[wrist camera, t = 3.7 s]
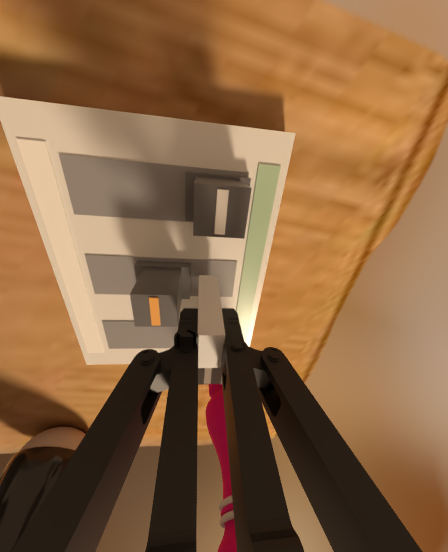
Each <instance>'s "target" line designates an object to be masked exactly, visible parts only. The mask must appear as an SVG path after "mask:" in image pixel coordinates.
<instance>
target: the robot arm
mask: <svg viewBox="0 0 448 552" xmlns="http://www.w3.org/2000/svg"><path fill="white" fill-rule="evenodd" d="M221 364H222V376H221V383H220V384H222V388H223V399H224V410H225V421H226V433H227V444H228V455H229V466H230V478H231V489H232V500H233V511H234V523H235V534H236V546H237V552H304V550H303V546H302V544H301V541H300V539H299V537H298V535H297V533H296V532H295V530H294V529H293V527H292V524H291V521H290V517H289V513H288V509H287V505H286V501H285V497H284V493H283V489H282V484H281V481H280V477H279V472H278V468H277V464H276V460H275V456H274V452H273V448H272V443H271V439H270V435H269V431H268V427H267V423H266V418H265V414H264V410H263V406H262V403H263V405H264V408H265V410H266V412H267V414H268V416H269V418H270V420H271V422H272V424H273V426H274V428H275V430H276V433H277V435H278V437H279V439H280V441H281V443H282V445H283V447H284V449H285V451H286V453H287V455H288V457H289V459H290V462H291V463H292V466H293V468H294V470H295V472H296V474H297V476H298V478H299V480H300V482H301V484H302V487H303V489H304V491H305V493H306V495H307V497H308V499H309V501H310V503H311V505H312V507H313V509H314V512H315V514H316V515H317V518H318V520H319V522H320V524H321V526H322V528H323V530H324V532H325V534H326V536H327V538H328V540H329V543H330V545H331V547H332V549H333V551H334V552H422V551H421V549H420V548H419V546H418V545H417V544H416V542H415V541H414V539H413V538H412V536H411V535H410V533H409V532H408V531H407V530H406V528H405V526H404V525H403V523H402V522H401V521H400V519H399V518H398V516H397V515H396V514H395V512H394V511H393V509H392V508H391V506H390V505H389V503H388V502H387V501H386V499H385V498H384V496H383V495H382V494H381V492H380V491H379V489H378V488H377V487H376V485H375V484H374V482H373V481H372V479H371V478H370V476H369V475H368V474H367V472H366V471H365V469H364V468H363V466H362V465H361V464H360V462H359V461H358V459H357V458H356V457H355V455H354V454H353V452H352V451H351V449H350V448H349V447H348V445H347V444H346V442H345V441H344V440H343V438H342V437H341V435H340V434H339V433H338V431H337V429H336V428H335V427H334V425H333V424H332V422H331V421H330V420H329V418H328V417H327V415H326V414H325V412H324V411H323V409H322V408H321V407H320V405H319V404H318V402H317V401H316V400H315V398H314V396H313V395H312V394H311V392H310V391H309V390H308V388H307V386H306V385H305V384H304V382H303V381H302V379H301V378H300V376H299V375H298V374H297V372H296V371H295V369H294V368H293V367H292V365H291V364H290V362H289V361H288V359H287V358H286V357H285V355H284V354H283V353H282V352H281V351H280V350H278V349H277V348H273V347H268V348H265V349H264V350H263V351H259V350H255V349H253V348H251V347H249V346H248V345H247V343H246V342H244V339H243V335H242V330H241V326H240V322H239V317H238V313H237V312H236V311H235V309H234V308H222V307H221V299H220V292H219V285H218V277H217V276H208V275H199V286H198V308H184V309H183V310H182V311H181V312H180V318H179V325H178V331H177V332H176V333H175V335H174V346H173V347H172V348H170V349H169V350H166V351H163V352H160V353H158V352H157V351H156V350H153V349H146V350H142V351H141V352H139V353H138V354H137V355H136V356H135V357H134V359H133V360H132V362H131V363H130V365H129V366H128V368H127V370H126V371H125V373H124V374H123V376H122V377H121V379H120V381H119V382H118V384H117V385H116V387H115V389H114V390H113V392H112V393H111V395H110V396H109V398H108V400H107V401H106V403H105V404H104V406H103V408H102V409H101V411H100V412H99V414H98V415H97V417H96V419H95V420H94V422H93V423H92V425H91V426H90V428H89V430H88V431H87V433H86V434H85V436H84V438H83V439H82V441H81V442H80V444H79V445H78V447H77V449H76V450H75V452H74V453H73V455H72V456H71V458H70V460H69V461H68V463H67V464H66V466H65V468H64V469H63V471H62V472H61V474H60V475H59V477H58V479H57V480H56V482H55V483H54V485H53V487H52V488H51V490H50V491H49V493H48V494H47V496H46V498H45V499H44V501H43V502H42V504H41V505H40V507H39V509H38V510H37V512H36V513H35V515H34V517H33V518H32V520H31V521H30V523H29V524H28V526H27V528H26V529H25V531H24V532H23V534H22V536H21V537H20V539H19V540H18V542H17V543H16V545H15V547H14V548H13V550H12V551H11V552H95V551H96V549H97V546H98V544H99V541H100V539H101V537H102V534H103V532H104V529H105V527H106V525H107V522H108V520H109V517H110V515H111V513H112V510H113V508H114V505H115V503H116V500H117V498H118V496H119V493H120V491H121V489H122V486H123V484H124V481H125V479H126V477H127V474H128V472H129V469H130V467H131V465H132V462H133V460H134V457H135V455H136V453H137V450H138V448H139V446H140V443H141V441H142V438H143V436H144V434H145V431H146V429H147V426H148V424H149V422H150V419H151V417H152V414H153V412H154V410H155V407H156V405H157V402H158V400H159V398H160V395H161V393H162V391H164V390H167V389H169V390H168V397H167V404H166V412H165V419H164V426H163V434H162V441H161V448H160V456H159V463H158V470H157V478H156V485H155V492H154V500H153V508H152V514H151V522H150V529H149V536H148V542H147V547H146V551H145V552H196V506H197V505H196V504H197V421H198V368H221ZM261 401H262V402H261Z"/></svg>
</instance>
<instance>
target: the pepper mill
mask: <svg viewBox="0 0 448 552" xmlns="http://www.w3.org/2000/svg"><path fill="white" fill-rule="evenodd" d="M209 395H210V397H211V399H210V401H209V402H208V405H207V407H206V421H207V427H208V430H209V434H210V437H211V439H212V442H213V444H214V446H215V449H216V452H217V455H218V457H219V461H220V465H221V470H222V478H223V500H222V501H221V503H220V505H219V509H220V511H221V519H220V525H221V526H222V527H223V528H225V532H224V536H223V539H222V541H221V544H220V546H219V549H218V552H237V546H236V534H235V523H234V511H233V500H232V489H231V478H230V466H229V455H228V444H227V433H226V421H225V410H224V399H223V388H222V384H209Z"/></svg>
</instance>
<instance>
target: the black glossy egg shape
mask: <svg viewBox="0 0 448 552" xmlns="http://www.w3.org/2000/svg"><path fill="white" fill-rule="evenodd" d="M84 436H85V433H84V432H82V431H81V430H79V429H76V428H73V427H55V428H51V429H48V430H45V431H43V432H41V433H39V434H38V435H36V436H35V437H33V438H32V439H31V440H30V441H29V442H27V443H26V444H25V445H24V446H23V448H22V449H21V450H20V451H19V452H18V453H16V454H15V455H14V456H13V457H12V458H11V460H10V461H9V463H8V464H7V466H6V468H5V470H4V471H3V473H2V475H1V477H0V552H11V551H12V550H13V548H14V547H15V545H16V543H17V542H18V540H19V539H20V537H21V536H22V534H23V532H24V531H25V529H26V528H27V526H28V524H29V523H30V521H31V520H32V518H33V517H34V515H35V513H36V512H37V510H38V509H39V507H40V505H41V504H42V502H43V501H44V499H45V498H46V496H47V494H48V493H49V491H50V490H51V488H52V487H53V485H54V483H55V482H56V480H57V479H58V477H59V475H60V474H61V472H62V471H63V469H64V468H65V466H66V464H67V463H68V461H69V460H70V458H71V456H72V455H73V453H74V452H75V450H76V449H77V447H78V445H79V444H80V442H81V441H82V439H83V438H84Z"/></svg>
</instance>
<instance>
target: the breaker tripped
mask: <svg viewBox="0 0 448 552" xmlns="http://www.w3.org/2000/svg"><path fill="white" fill-rule="evenodd" d="M134 268H135V275H136V283H135V285H134V287H133V289H132V291H131V293H130V299H131V305H132V311H133V318H134V324H135V327H178V321H179V314H180V307H181V300H182V299H190V280H191V263H175V262H151V261H137V262H136V263H135V265H134Z"/></svg>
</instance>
